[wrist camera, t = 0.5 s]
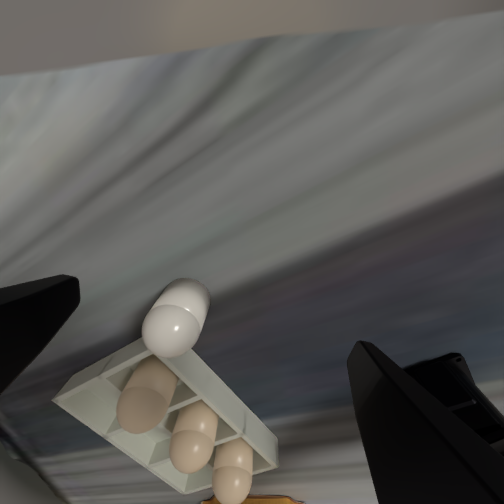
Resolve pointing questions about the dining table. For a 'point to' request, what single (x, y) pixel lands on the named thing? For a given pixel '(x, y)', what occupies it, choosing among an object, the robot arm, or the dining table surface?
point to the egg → (176, 318)
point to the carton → (173, 420)
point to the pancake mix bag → (259, 500)
